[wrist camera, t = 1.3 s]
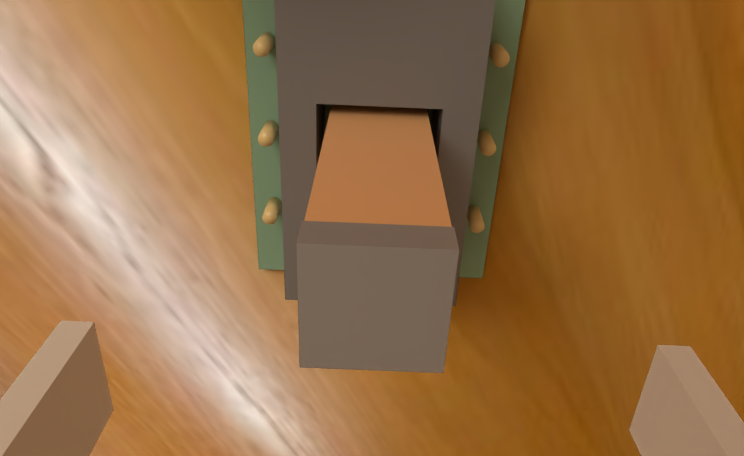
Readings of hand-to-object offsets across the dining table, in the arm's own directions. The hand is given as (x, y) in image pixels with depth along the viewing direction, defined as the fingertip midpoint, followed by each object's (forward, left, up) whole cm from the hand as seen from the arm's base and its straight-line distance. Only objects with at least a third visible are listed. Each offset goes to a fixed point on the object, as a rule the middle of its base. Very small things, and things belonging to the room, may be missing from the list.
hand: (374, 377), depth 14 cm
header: (0, 0, -17) cm, 17 cm away
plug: (0, 0, -16) cm, 16 cm away
